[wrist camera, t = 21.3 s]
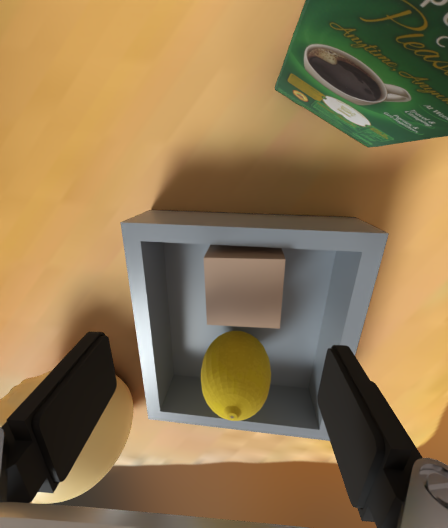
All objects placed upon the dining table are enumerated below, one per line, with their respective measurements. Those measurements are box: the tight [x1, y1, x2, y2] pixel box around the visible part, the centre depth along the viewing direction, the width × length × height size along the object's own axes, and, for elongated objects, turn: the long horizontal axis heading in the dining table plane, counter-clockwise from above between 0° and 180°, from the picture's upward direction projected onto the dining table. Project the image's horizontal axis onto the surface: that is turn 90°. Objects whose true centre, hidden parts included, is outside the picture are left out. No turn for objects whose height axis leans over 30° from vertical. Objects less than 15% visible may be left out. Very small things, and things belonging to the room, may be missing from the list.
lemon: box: [201, 331, 271, 421], centre depth 20 cm, size 6×6×8 cm
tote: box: [121, 210, 388, 441], centre depth 21 cm, size 16×18×5 cm
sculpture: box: [0, 371, 133, 504], centre depth 24 cm, size 11×12×11 cm
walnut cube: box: [204, 245, 286, 329], centre depth 18 cm, size 5×5×5 cm
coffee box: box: [275, 0, 448, 147], centre depth 10 cm, size 8×3×13 cm, turn 62°
